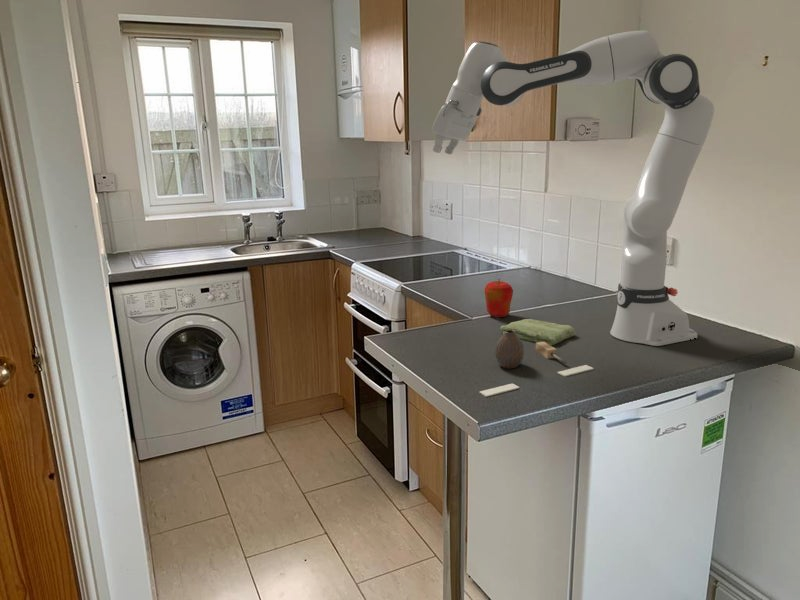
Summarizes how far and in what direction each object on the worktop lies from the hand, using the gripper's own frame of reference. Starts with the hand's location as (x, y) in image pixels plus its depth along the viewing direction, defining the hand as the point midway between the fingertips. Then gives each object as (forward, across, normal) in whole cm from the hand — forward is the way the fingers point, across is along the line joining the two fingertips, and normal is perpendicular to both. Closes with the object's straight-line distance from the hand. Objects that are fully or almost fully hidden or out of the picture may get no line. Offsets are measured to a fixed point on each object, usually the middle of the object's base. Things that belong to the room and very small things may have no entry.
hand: (442, 152), depth 167 cm
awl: (+33, -11, -52) cm, 63 cm away
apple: (+40, +20, -31) cm, 54 cm away
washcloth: (+35, +6, -45) cm, 57 cm away
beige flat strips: (+34, -27, -52) cm, 68 cm away
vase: (+37, -20, -44) cm, 61 cm away
